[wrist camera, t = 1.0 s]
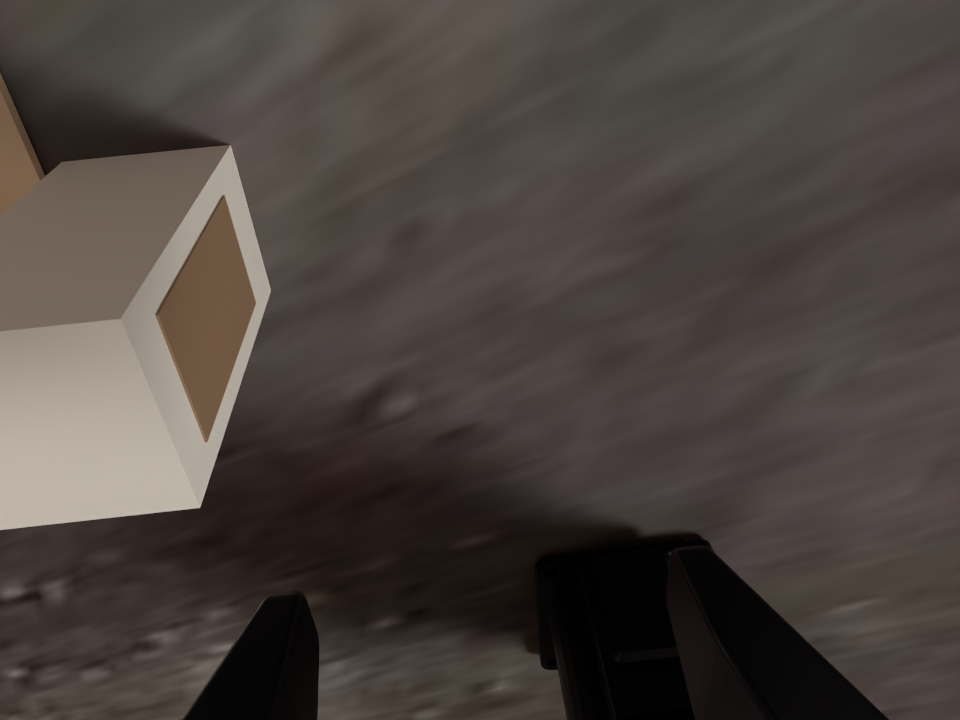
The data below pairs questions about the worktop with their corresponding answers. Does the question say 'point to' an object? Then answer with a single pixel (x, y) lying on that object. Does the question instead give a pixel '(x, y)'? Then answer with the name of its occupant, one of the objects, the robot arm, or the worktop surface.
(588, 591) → the robot arm
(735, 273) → the worktop surface
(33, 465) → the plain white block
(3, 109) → the cork trivet
